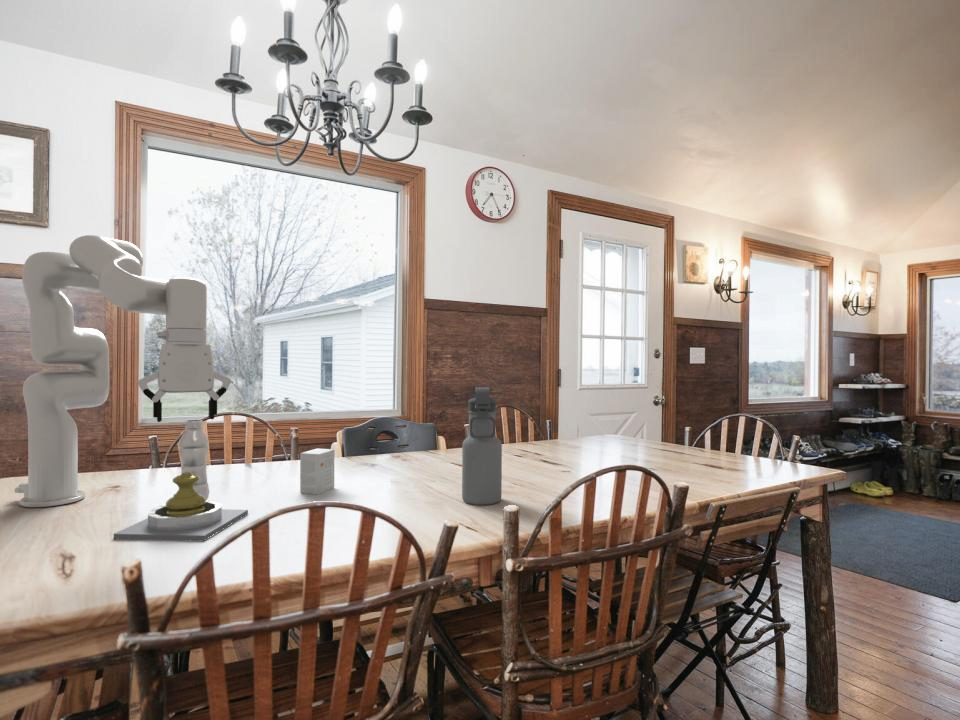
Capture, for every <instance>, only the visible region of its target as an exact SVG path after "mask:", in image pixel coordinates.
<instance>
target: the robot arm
mask: <svg viewBox="0 0 960 720" xmlns="http://www.w3.org/2000/svg"><path fill="white" fill-rule="evenodd" d="M68 252H69V253H62V252H54V251H41V252H35V253H33V254H31V255H29V256H28V258H27V259H26V260H25V262H24V263H23V268H22V271H21V272H22V273H21V279H22V286H23V289H24V292H25V295H26V299H27V302H28V307H29V308H28V309H29V334H30V335H29V337H30V338H29V341H30V343H29V344H30V353H31V358H33V360H34V362H36V363H38V364H41V365H44V366H46V365H47V366H79V370H46V371H40V372H36V373H33V374H31V375H29V376H28V377H27V378H26V379H25V380H24V382H23V385H22V395H23V396H22V397H23V400H24V404H25V409H26V415H27V431H28V432H27V438H28V439H27V440H28V441H27V444H28V445H27V450H28V451H27V453H28V454H27V455H28V456H27V457H28V458H27V460H28V461H27V462H28V463H27V465H28V466H27V469H28V470H27V471H28V473H27V478H28V479H27V482H28V483H20V484H18V486H16V487H15V488H14V492H15V494H22V493H23V497H22V498H20V499H19V505H20V506H21V507H25V508H47V507H53V506H54V507H55V506H61V505H66V504H72V503H76V502H79V501H81V500H83V499H85V497H86V491H83V490H80V489H79V490H78V488H79V487H78V485H79V483H78V477H79V476H78V472H79V471H78V469H79V466H78V461H79V458H78V454H79V452H78V451H79V449H78V445H79V444H78V443H79V442H78V441H79V438H78V437H79V435H78V426H77V423H76V421H75V420H74V418H73V417H72V416H71V415H70V414H69V412H68V410H75V409H85V408H86V409H87V408H95V407H99V406H101V405H103V404H105V403H106V401H107V400H108V397H109V394H110V351H109V343H108V340H107V339H106V336H105V335H104V334H103V333H102V332H101V331H99V330H98V329H96V328H91V327H77V326H76V325H75V319H74V318H75V317H74V316H75V311H74V307H73V305H72V303H71V302H70V301H69V298H68V297H67V296H66V295H65V293H63V291H62V290H68V291H74V292H75V291H76V292H77V291H78V292H88V293H97V294H98V293H99V294H101V295H102V296H103V297H104V299H106V300H107V301H108V302H110V303H111V304H113V305H114V306H116V307H118V308H119V309H121V310H124V311H126V312H130V313H136V314H137V313H139V314H150V315H151V314H153V315H159V316H160V315H161V316H165V329H164V330H161V331H157V339H162V340H164V341H165V343H163V344H161V347H160V349H159V350H160V351H159V358H158V367H157V369H158V371H156V372H153V373H151V374H150V375H149V374H148V375H147V376H145V377H143V378H140V379H138V380H137V385H138V387H139V388H140V390H141V392H142V393H143V395H145V396H146V397H147V398H148V399H150V400H151V401H152V402H153V403H152V407H153V408H152V413H153V415H152V418H156V422H157V423H161V422H162V419H163V418H162V417H163V416H162V415H163V413H162V410H163V409H162V408H163V406H162V405H163V403H162V401H161V400H162V398H163V397H164V396H165V394H167V393H168V394H174V393H177V394H180V393H182V394H183V393H184V394H185V393H206V394H207V395H208V396H209V400H208V419H210V420H214V419H215V416H217V415H218V400H219V399H220V398H221V397H223V395H224V394H225V393H226V392H227V390H228V388H229V387H230V385H231V383H232V379H231V378H229V377H227V376H224V375H223V374H220V373H218V372H216V371H214V359H213V352H212V346H211V344H207V301H208V300H207V284H206V283H205V282H204V281H203V280H201V279H198V278H191V277H172V278H169V279H167V280H166V279H163V278H157V277H156V278H154V277H149V276H148V277H146V276H142V273H143V270H142V268H143V266H144V265H143V264H144V258H143V254H142V252H141V251H140V249H139V248H138V247H137V246H136V245H135V244H133V243H131V242H129V241H125V240H120V239H115V238H110V237H105V236H98V235H89V234H88V235H83V236H82V235H81V236H79V237H76V238H75V239H74V240H73V241H72V242H71V243H70V245H69V250H68ZM155 380H157V386H158V390H157V391H156V392H155V393H154V392H153V391H152V390H150V388H149V387H148V384H149V383H150V382H152V381H155ZM215 380H217V381H220V382H221V386H220V387H219V388H218V389H217V390H216V391H215V390H214V385H215Z"/></svg>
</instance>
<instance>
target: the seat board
mask: <svg viewBox="0 0 960 720" xmlns="http://www.w3.org/2000/svg"><path fill="white" fill-rule="evenodd" d="M247 514H248V515H249V509H229V508H228V509H227V508H224V509H223V508H222V519H221V520H219V521H217V522H215V523H214V524H211V525H207V526H204V527H200V528H196V529H189V530H180V531H156V530H153V529H150V528H148V518H146V519H143V520H141V521H139V522H137V523H135V524H133V525H129V526H128V527H125V528H124V529H121V530H118V531H117V532H114V533H113V540H140V541H141V540H144V541H145V540H151V541H153V540H154V541H189V540H192V541H194V540H205V539H207V538H208V537H210V536H212V535H213V534H215V533H216V532H218V531H220V530H221V531H223V530H224V529H223V528H225V527H226V528H228V527H229V526H228V525H230V524H231V523H233V522H234V523H236V522H238V521H239V520H241V519H242V518H241V517H243V516H244V517H246V516H248V515H247ZM245 515H246V516H245ZM244 517H243V518H244ZM240 518H241V519H240ZM238 519H239V520H238ZM237 520H238V521H237ZM235 521H236V522H235ZM234 523H233V524H234ZM231 525H232V524H231ZM231 525H230V526H231ZM227 526H228V527H227ZM226 528H225V529H226ZM222 529H223V530H222ZM221 531H220V532H221ZM218 533H219V532H218ZM215 535H216V534H215ZM213 536H214V535H213ZM213 536H212V537H213ZM210 538H211V537H210ZM208 539H209V538H208ZM208 539H207V540H208ZM192 541H191V542H192ZM205 541H206V540H205ZM194 542H195V541H194Z"/></svg>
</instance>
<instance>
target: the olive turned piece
mask: <svg viewBox="0 0 960 720" xmlns="http://www.w3.org/2000/svg"><path fill="white" fill-rule="evenodd" d="M198 480H199V476H197V475H195V474H191V473H190V472H185V473H182V474H180V475H179V474H178V475H177V476H175V477H173V478H172V483H174V484H176V485H177V486H178V490H177V491H176V493H174V494H173V496H172V497H169V499H167V500H166V502H165V505H166V507H167V508H168V509H169V510H168V511H167V512H166V516H167V517H179V516H188V515H195V514H199V513H203V512H205V510H206V508H205V507H203V505H204V504H205V502H206V501H207V500H206V498H205V497H204V496H203V495H200V494H199V493H198V492H197V491H196V490H195V489H194V488H193V486H194V484H195V483H196V482H197V481H198Z"/></svg>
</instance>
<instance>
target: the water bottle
mask: <svg viewBox="0 0 960 720" xmlns="http://www.w3.org/2000/svg"><path fill="white" fill-rule="evenodd" d="M474 391H475V397H473V398H470V399H469V400H468V401H467V404H468V405H467V413H468V436H467V437H466V438H465V439H463V441H462V448H461V449H462V450H461V451H462V453H461V456H462V458H461V459H462V460H461V462H462V463H461V464H462V465H461V475H462V477H461V497H462V501H464V503H466V504H468V505H469V504H470V505H474V506H475V505H476V506H490V505H495V504H497V503H499V502H500V501H501V500H502V493H503V492H502V489H503V487H502V484H503V483H502V477H503V476H502V473H503V472H502V471H503V470H502V468H503V467H502V464H503V462H502V460H503V459H502V457H503V455H502V454H503V453H502V451H503V449H502V448H503V445H502V441H501V440H500V438H498V437H497V435H496V413H497V400H496V399H495V398H492V397H490V396H491V394H490V392H491V391H490V386H475V387H474Z"/></svg>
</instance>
